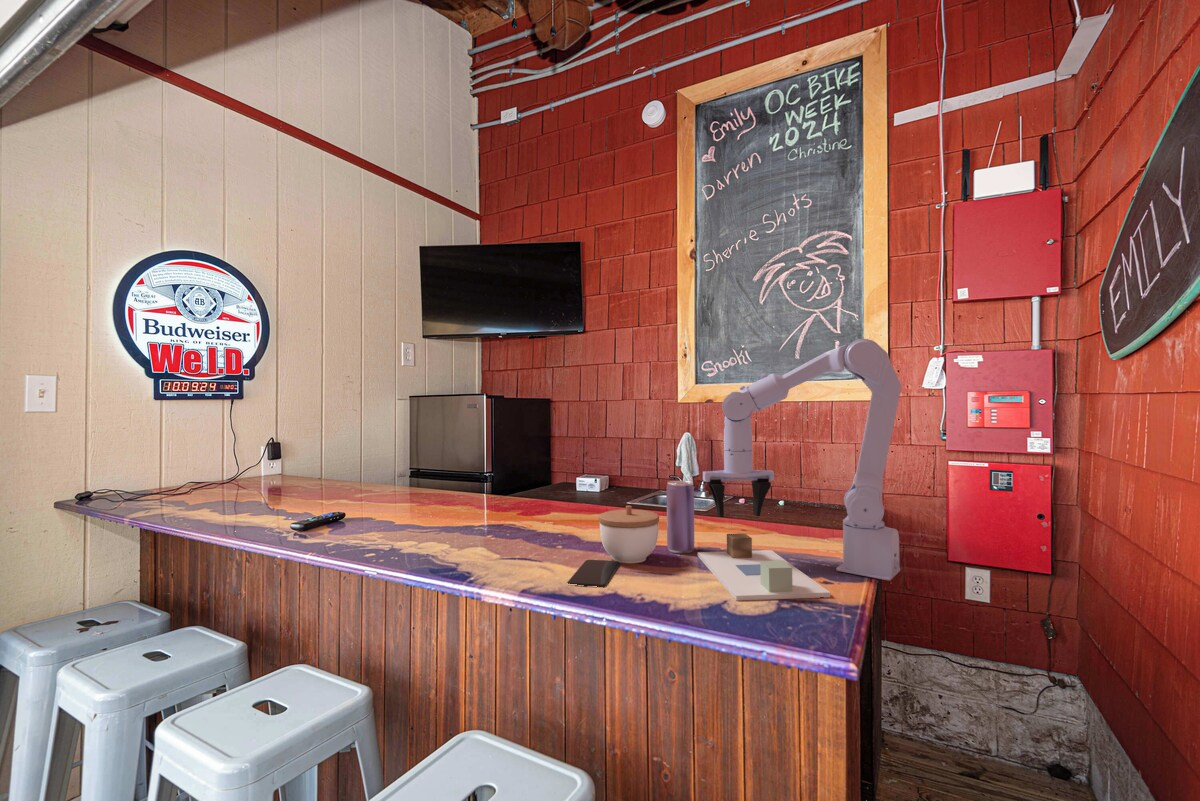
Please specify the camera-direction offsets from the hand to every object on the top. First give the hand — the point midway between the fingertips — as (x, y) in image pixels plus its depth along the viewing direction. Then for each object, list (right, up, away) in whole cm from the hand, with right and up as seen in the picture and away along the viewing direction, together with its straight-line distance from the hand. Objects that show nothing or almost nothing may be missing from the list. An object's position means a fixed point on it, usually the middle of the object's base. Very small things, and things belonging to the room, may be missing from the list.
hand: (738, 515), depth 114 cm
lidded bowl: (-23, -10, +1) cm, 25 cm away
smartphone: (-30, -10, -8) cm, 33 cm away
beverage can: (-11, -9, +7) cm, 16 cm away
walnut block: (0, -8, 0) cm, 8 cm away
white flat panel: (+1, -9, -10) cm, 13 cm away
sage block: (+1, -8, -20) cm, 21 cm away
